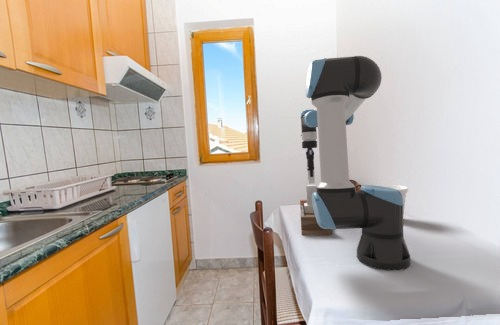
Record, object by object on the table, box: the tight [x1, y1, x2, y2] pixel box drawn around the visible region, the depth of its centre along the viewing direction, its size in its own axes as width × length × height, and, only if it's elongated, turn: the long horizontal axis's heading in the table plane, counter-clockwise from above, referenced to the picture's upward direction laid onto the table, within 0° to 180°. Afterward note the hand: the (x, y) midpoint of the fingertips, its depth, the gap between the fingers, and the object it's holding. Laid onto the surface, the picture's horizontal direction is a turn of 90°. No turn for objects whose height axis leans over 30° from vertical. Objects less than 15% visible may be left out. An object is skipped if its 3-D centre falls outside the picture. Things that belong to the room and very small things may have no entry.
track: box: [299, 199, 332, 236], centre depth 122 cm, size 36×12×7 cm, turn 169°
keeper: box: [304, 184, 317, 213], centre depth 133 cm, size 6×8×14 cm
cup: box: [380, 184, 409, 216], centre depth 118 cm, size 12×12×15 cm
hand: (311, 181), depth 132 cm, fingers open, 13 cm apart
